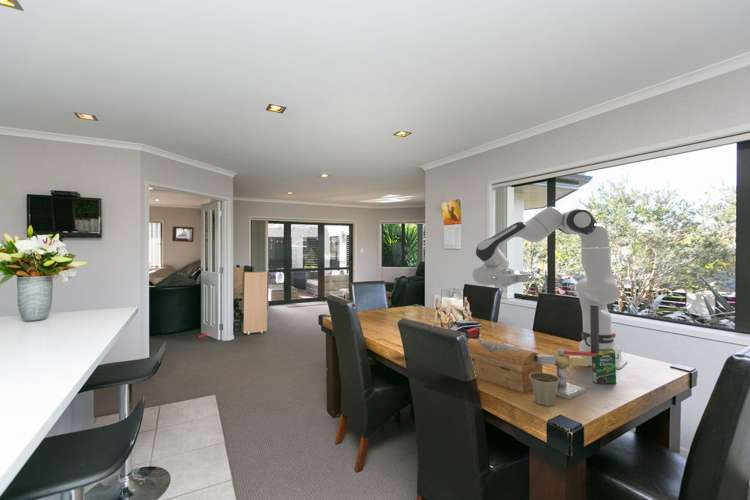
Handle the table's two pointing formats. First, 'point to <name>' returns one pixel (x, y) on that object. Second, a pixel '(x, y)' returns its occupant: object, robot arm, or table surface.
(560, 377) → the standpipe valve
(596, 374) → the coffee box
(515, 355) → the wooden box
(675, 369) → the table surface
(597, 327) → the valve lever
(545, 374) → the flower pot
